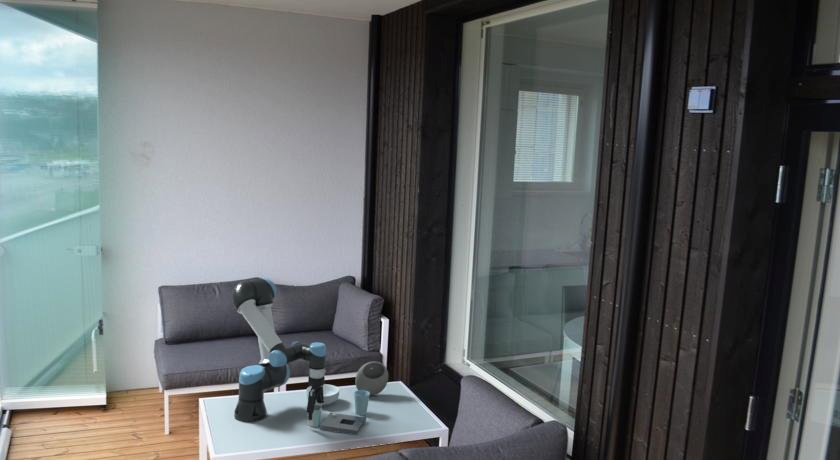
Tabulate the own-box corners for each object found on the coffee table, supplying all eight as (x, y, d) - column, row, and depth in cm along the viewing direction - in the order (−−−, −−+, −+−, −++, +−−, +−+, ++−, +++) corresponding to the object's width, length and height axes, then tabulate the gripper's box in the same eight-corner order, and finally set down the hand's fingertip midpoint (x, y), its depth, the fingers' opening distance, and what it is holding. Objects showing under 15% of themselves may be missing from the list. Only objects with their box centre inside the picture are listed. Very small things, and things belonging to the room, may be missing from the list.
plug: (307, 425, 329) (308, 407, 328) (310, 422, 333) (311, 404, 332) (317, 427, 328) (318, 409, 327) (320, 424, 332) (321, 405, 331)
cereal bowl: (311, 395, 367) (312, 382, 366) (342, 398, 365) (343, 385, 364) (301, 407, 350) (302, 393, 349) (333, 411, 348) (334, 397, 347)
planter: (356, 400, 364) (358, 365, 362) (352, 395, 371) (354, 360, 368) (389, 396, 372) (391, 362, 370) (384, 391, 379) (386, 358, 376)
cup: (370, 415, 346) (371, 395, 345) (356, 416, 343) (357, 396, 342) (365, 409, 353) (366, 389, 352) (351, 411, 350) (352, 391, 348)
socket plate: (319, 429, 326) (319, 423, 325) (330, 416, 341) (330, 410, 341) (357, 434, 323) (357, 429, 322) (365, 421, 338) (366, 415, 338)
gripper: (316, 385, 315) (313, 431, 318) (331, 369, 338) (329, 412, 341) (300, 383, 316) (298, 429, 319) (317, 367, 339) (314, 410, 342)
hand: (314, 420), depth 330 cm, fingers open, 11 cm apart
